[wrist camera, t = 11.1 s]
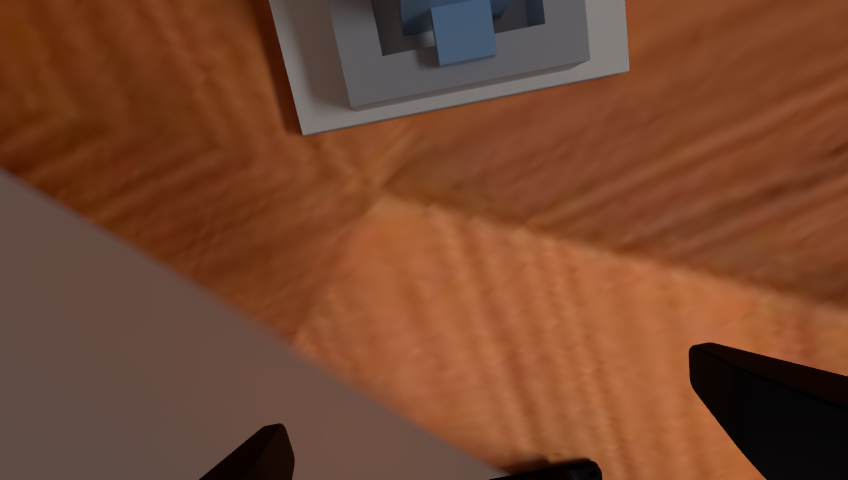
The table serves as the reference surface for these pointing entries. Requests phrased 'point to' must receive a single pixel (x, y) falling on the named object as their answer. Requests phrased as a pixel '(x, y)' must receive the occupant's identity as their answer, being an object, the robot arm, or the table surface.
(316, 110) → the plate
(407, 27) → the block
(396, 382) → the table surface
